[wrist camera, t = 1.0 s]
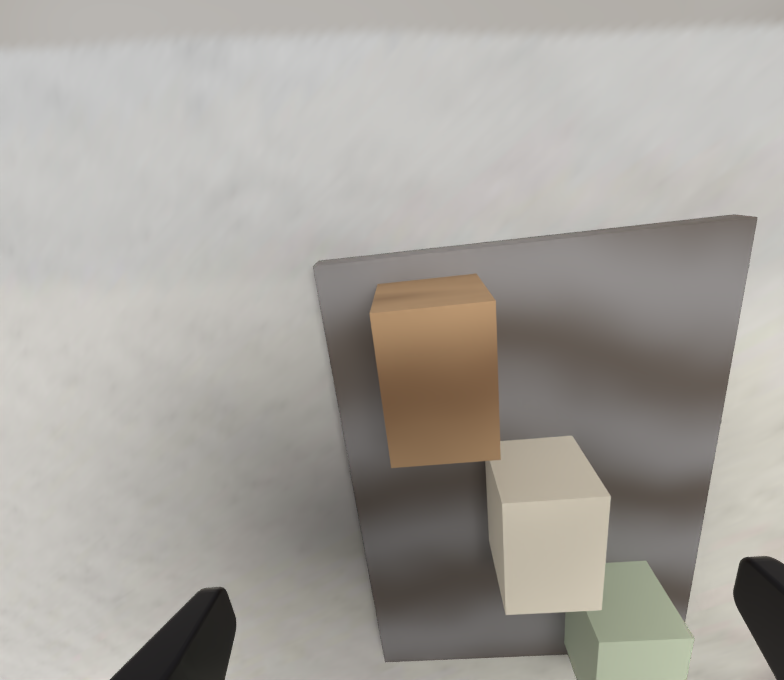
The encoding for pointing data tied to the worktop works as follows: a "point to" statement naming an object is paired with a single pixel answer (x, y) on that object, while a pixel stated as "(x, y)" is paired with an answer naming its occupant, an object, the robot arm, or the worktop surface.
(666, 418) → the slate board
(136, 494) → the worktop surface
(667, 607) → the sage brick
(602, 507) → the cream brick
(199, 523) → the worktop surface
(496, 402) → the walnut brick
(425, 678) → the worktop surface
